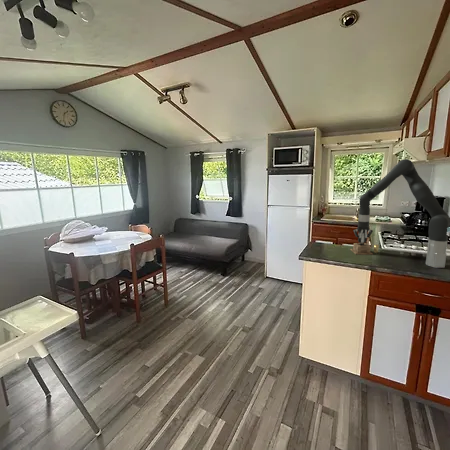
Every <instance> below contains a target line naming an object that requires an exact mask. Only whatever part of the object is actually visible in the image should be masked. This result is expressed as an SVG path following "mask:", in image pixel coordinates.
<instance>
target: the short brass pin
mask: <svg viewBox="0 0 450 450" xmlns="http://www.w3.org/2000/svg"><path fill="white" fill-rule="evenodd" d="M379 247H380V246H379V244H377V243H376V244H374V245H373V254H379Z"/></svg>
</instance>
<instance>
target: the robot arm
mask: <svg viewBox="0 0 450 450" xmlns="http://www.w3.org/2000/svg"><path fill="white" fill-rule="evenodd" d="M400 176H403V178H404V179H405V181H406V182H407V184H408V186H409V190H410V192H411V193H412V195H413V197H414V199H415V200H416V201H417V203H418V204H419V205H420V206H422V207H423V208H424V209H425V210H426V211H427V212H428V214H429V216H430V217H431V218H430V220H429V223H428V240H427V241H428V242H427V249H426V258H425V265H426V266H429V267H432V268H437V269H438V268H442V269H444V268H446V267H445V266H446V260H447V247H448V238H449V237H448V228H450V216H449V214H448V213H447V212H446V211H445V209H443V207H442V206H441V205H440V203H439V201H438V199H437V197H436V196H435V194H434V193H433V191H432V190H431V188H430V187H429V185H428V184H427V183H426V182H425V181H424V179H422V178H421V176H420V175H419V173H418V171H417V169H416V167H415V164H414V162H412V160H410V159H408V158H407V159H406V158H405V159H401V160H399V161H398V162H397V163H396V165H395V166H393V168H392V169H391V170H390V171H389V172H388V173H387V174H385V176H384V177H382V179H380V180H378V181H377V182H376V183H375V184H374V185H373V186H372V187H370V188H369V189H368V191H366V192H365V193H364V194H362V195H360V196H359V209H358V211H359V213H358V219H357V220H358V221H357V228H356V229H353V233H354V235H355V238H357V242H358V243H361V235H362V233H365V239H364V243H366V242H367V239H368V238H370V237H371V236H372V233H373V231H374V230H373V229H370V219H371V218H370V217H371V216H370V213H371V208H370V207H371V201H372V200H374V198H376V197H377V196H379V195H380V194H381V193H383V192H384V191H385V190H386V189H387V188H388V187H389V186H390V185H392V184H393V182H394V181H395V180H396V179H397V178H399V177H400ZM366 244H367V243H366Z"/></svg>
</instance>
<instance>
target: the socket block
mask: <svg viewBox="0 0 450 450" xmlns="http://www.w3.org/2000/svg"><path fill="white" fill-rule="evenodd" d="M352 246H353V248H350V251H351V252H352V253H353V254H355V255H366V256H367V255H374V252H372V251H371V246H370V245H369V244H368V243H364V246H360V243H359V242H358V243H357V242H355V243H353V245H352Z"/></svg>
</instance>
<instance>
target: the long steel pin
mask: <svg viewBox="0 0 450 450" xmlns="http://www.w3.org/2000/svg"><path fill="white" fill-rule="evenodd" d="M364 239H365V233H362V235H361V243H360V246H364Z"/></svg>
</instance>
